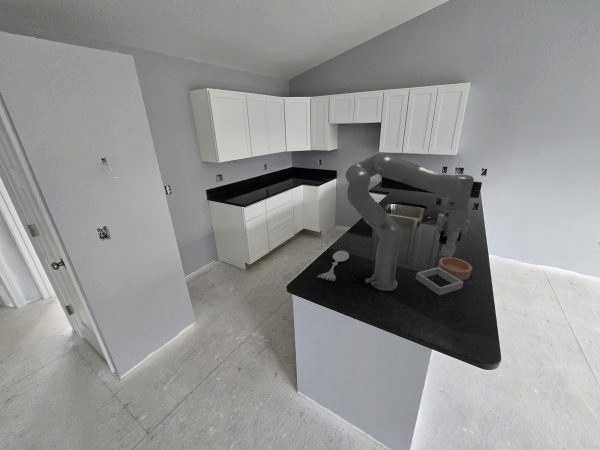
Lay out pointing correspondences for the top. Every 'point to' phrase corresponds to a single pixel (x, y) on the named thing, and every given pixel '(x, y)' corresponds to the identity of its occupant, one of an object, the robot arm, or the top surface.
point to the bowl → (455, 267)
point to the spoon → (338, 257)
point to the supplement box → (439, 221)
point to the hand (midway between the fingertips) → (449, 241)
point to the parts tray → (445, 289)
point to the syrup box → (449, 243)
